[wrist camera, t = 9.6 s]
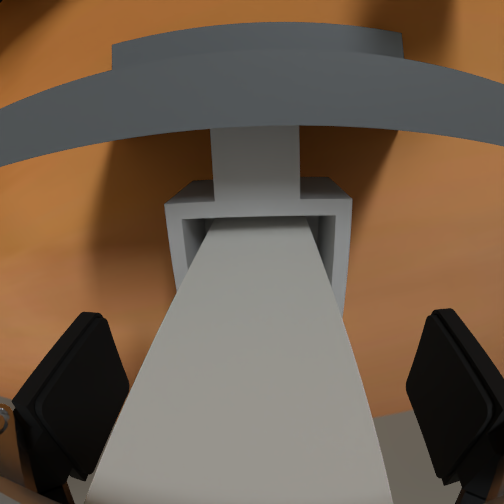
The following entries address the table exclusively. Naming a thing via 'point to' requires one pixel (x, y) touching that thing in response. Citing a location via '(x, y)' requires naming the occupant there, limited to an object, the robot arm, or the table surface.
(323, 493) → the rail
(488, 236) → the table surface
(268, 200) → the bracket
